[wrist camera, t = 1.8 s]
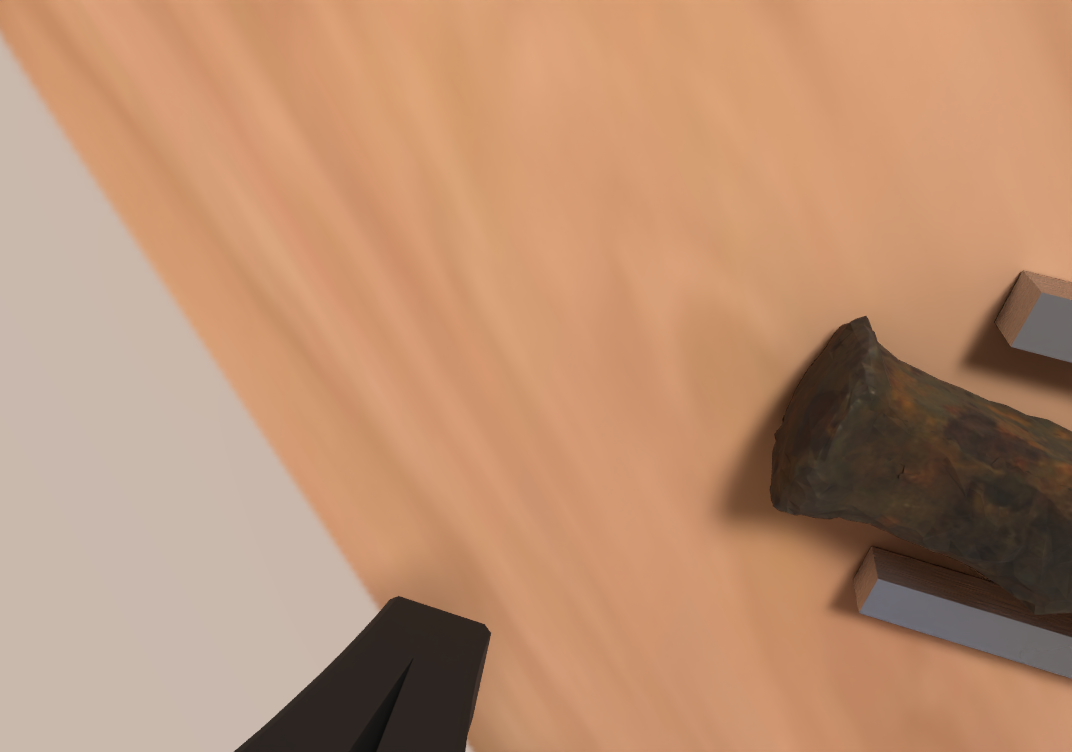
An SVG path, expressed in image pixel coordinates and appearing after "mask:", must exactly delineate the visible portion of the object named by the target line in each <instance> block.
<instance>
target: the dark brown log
mask: <svg viewBox="0 0 1072 752" xmlns="http://www.w3.org/2000/svg"><path fill="white" fill-rule="evenodd" d="M775 439H776V442H775V445H774V448H773V456H772V478H771V486H770V493H771V501H772V503H773V506H774V507H775V508H776V509H777V510H779V511H783V512H786V513H789V514H793V515H800V514H801V515H805V516H809V517H813V518H823V519H832V518H837V517H840V518H843V519H846V520H850V521H856V522H862V523H867V524H871V525H873V526H875V527H877V528H879V529H882V530H884V531H887V532H889V533H891V534H893V535H895V536H896V537H899V538H901V539H904V540H906V541H909V542H911V543H914V544H916V545H919V546H921V547H924V548H926V549H928V550H930V551H932V552H937V553H940V554H943V555H945V556H948V557H951V558H953V559H955V560H957V561H960V562H962V563H964V564H966V565H968V566H970V567H972V568H974V569H975V570H977V571H978V572H980V573H981V574H983V575H984V576H985V577H987V578H988V579H990V580H991V581H993V582H995V583H997V584H999V585H1000V586H1001V587H1003V588H1004V589H1005V590H1006V591H1008V592H1009V593H1010V594H1012V595H1013V596H1014V597H1016V598H1017V599H1020V600H1021V602H1022V603H1023V604H1024V605H1025V606H1026V607H1027V608H1028V609H1029V610H1030V611H1031V612H1032V613H1033V614H1036V615H1044V614H1056V613H1072V432H1071V431H1069V430H1067V429H1065V428H1063V427H1061V426H1059V425H1057V424H1055V423H1053V422H1051V421H1049V420H1047V419H1043V418H1038V417H1033V416H1028V415H1025V414H1023V413H1021V412H1019V411H1017V410H1015V409H1013V408H1011V407H1009V406H1007V405H1003V404H1000V403H996V402H992V401H988V400H986V399H984V398H982V397H980V396H977V395H975V394H973V393H971V392H969V391H967V390H964V389H962V388H960V387H957V386H954V385H952V384H949V383H947V382H944V381H941V380H939V379H937V378H935V377H933V376H931V375H929V374H927V373H925V372H923V371H921V370H919V369H917V368H915V367H913V366H911V365H909V364H907V363H905V362H902V361H900V360H898V359H897V358H896V357H895V356H893V355H892V354H891V353H890V352H889V351H888V350H886V349H885V348H884V347H883V346H882V345H881V344H879V343H878V341H877V338H876V335H875V332H874V331H873V330H872V328H871V325H870V322H869V320H868V318H867V316H864V317H861V318H857V319H855V320H853V321H851V322H850V323H847V324H844V325H842V326H841V327H839V329H838V330H837V331H836V332H835V333H834V335H833V337H832V338H831V340H830V342H829V343H828V345H827V347H826V348H825V350H824V351H823V352H822V353H821V355H820V356H819V357H818V358H817V359H816V360H815V362H814V363H813V364H812V365H811V366H810V368H809V369H808V370H807V372H806V374H805V375H804V377H803V379H802V380H801V382H800V384H799V385H798V387H797V389H796V391H795V393H794V395H793V398H792V400H791V402H790V404H789V406H788V408H787V411H786V413H785V415H784V417H783V423H782V426H781V427H780V428H779V429H778V430H777V432H776V433H775Z"/></svg>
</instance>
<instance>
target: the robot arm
mask: <svg viewBox="0 0 1072 752" xmlns="http://www.w3.org/2000/svg"><path fill="white" fill-rule="evenodd" d="M490 636H491V632H490V631H489V630H488V628H487V627H486V626H485V624H482V623H479V622H476V621H473V620H470V619H467V618H464V617H461V616H457V615H454V614H451V613H448V612H445V611H442V610H439V609H436V608H433V607H430V606H427V605H424V604H421V603H418V602H415V601H412V600H409V599H406V598H403V597H400V596H398V597H395V598H393V599H390V600H389V601H388V603H387V604H386V605H385V606H384V607H383V608H382V610H381V611H380V612H379V613H378V614H377V615H376V616H375V618H374V619H373V620H372V621H371V622H370V623H369V624H368V625H367V626H366V627H365V629H364V630H363V631H362V632H361V633H360V634H359V635H358V636H357V637H356V638H355V639H354V640H353V641H352V642H351V643H350V644H349V646H348V647H347V648H346V649H345V650H344V651H343V652H342V653H341V654H340V655H339V656H338V657H337V658H336V659H335V660H334V661H333V662H332V663H331V664H330V665H329V666H328V667H327V668H326V669H325V670H324V671H323V672H322V673H321V674H320V675H319V676H318V677H316V678H315V679H314V680H313V681H312V682H311V683H310V684H309V685H308V686H307V687H306V688H305V689H304V690H303V691H301V692H300V693H299V694H298V695H297V696H296V697H295V698H294V699H293V700H292V701H291V702H290V703H289V704H288V705H287V706H285V707H284V709H282V710H281V711H280V712H279V713H278V714H277V715H276V716H275V717H274V718H272V719H271V720H270V721H269V722H268V723H267V724H266V725H265V726H264V727H262V728H261V729H260V730H259V731H258V732H257V733H255V734H254V735H253V736H252V737H251V738H249V739H248V740H247V741H246V742H245V743H244V744H242V745H241V746H240V747H239V748H238V749H236V750H235V751H234V752H465V749H466V741H467V735H468V731H469V728H470V725H471V722H472V718H473V714H474V710H475V705H476V700H477V696H478V691H479V687H480V682H481V677H482V673H483V668H484V664H485V659H486V654H487V650H488V645H489V640H490Z"/></svg>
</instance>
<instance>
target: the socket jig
mask: <svg viewBox="0 0 1072 752" xmlns="http://www.w3.org/2000/svg"><path fill="white" fill-rule="evenodd" d="M995 324H996V325H997V327H998V328H999V330H1000V331H1001V333H1002V334H1003V336H1004V337H1005V339H1006V340H1007V342H1008V343H1009V345H1010V346H1011V347H1013V348H1017V349H1021V350H1025V351H1029V352H1032V353H1036V354H1040V355H1044V356H1048V357H1052V358H1056V359H1059V360H1063V361H1067V362H1071V363H1072V282H1068V281H1064V280H1060V279H1056V278H1051V277H1047V276H1043V275H1039V274H1035V273H1031V272H1027V271H1022V273H1021V275H1020V277H1019V278H1018V280H1017V282H1016V284H1015V286H1014V288H1013V289H1012V291H1011V293H1010V295H1009V297H1008V299H1007V300H1006V302H1005V304H1004V306H1003V308H1002V309H1001V311H1000V313H999V315H998V317H997V319H996V320H995ZM853 581H854V587H855V593H856V600H857V606H858V612H859V613H861V614H864V615H867V616H870V617H874V618H877V619H880V620H883V621H887V622H890V623H893V624H896V625H899V626H903V627H906V628H909V629H912V630H916V631H919V632H922V633H925V634H929V635H932V636H935V637H938V638H942V639H945V640H948V641H951V642H955V643H958V644H961V645H964V646H968V647H971V648H974V649H977V650H980V651H984V652H987V653H990V654H993V655H997V656H1000V657H1003V658H1006V659H1010V660H1013V661H1016V662H1019V663H1023V664H1026V665H1029V666H1032V667H1036V668H1039V669H1042V670H1045V671H1049V672H1052V673H1055V674H1058V675H1062V676H1065V677H1068V678H1071V679H1072V613H1056V614H1044V615H1036V614H1033V613H1032V612H1031V611H1030V610H1029V609H1028V608H1027V607H1026V606H1025V605H1024V604H1023V603H1022V602H1021V600H1020V599H1017V598H1016V597H1014V596H1013V595H1012V594H1010V593H1009V592H1008V591H1006V590H1005V589H1004V588H1003V587H1001V586H1000V585H999V584H997V583H993V582H990V581H986V580H983V579H980V578H976V577H973V576H970V575H966V574H963V573H960V572H956V571H953V570H950V569H946V568H943V567H939V566H936V565H933V564H929V563H926V562H923V561H919V560H916V559H913V558H909V557H906V556H902V555H899V554H896V553H892V552H889V551H886V550H882V549H879V548H876V547H872V546H871V548H870V550H869V552H868V554H867V555H866V557H865V559H864V561H863V563H862V565H861V566H860V568H859V570H858V572H857V574H856V576H855V577H854V579H853Z"/></svg>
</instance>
